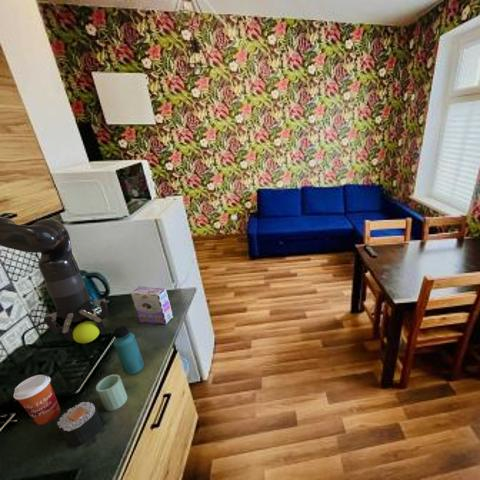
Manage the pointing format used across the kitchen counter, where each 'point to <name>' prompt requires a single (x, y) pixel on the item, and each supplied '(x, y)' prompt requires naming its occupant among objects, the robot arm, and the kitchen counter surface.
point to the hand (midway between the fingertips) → (87, 334)
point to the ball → (85, 332)
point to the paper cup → (38, 398)
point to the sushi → (80, 423)
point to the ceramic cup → (111, 392)
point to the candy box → (152, 305)
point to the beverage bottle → (127, 350)
